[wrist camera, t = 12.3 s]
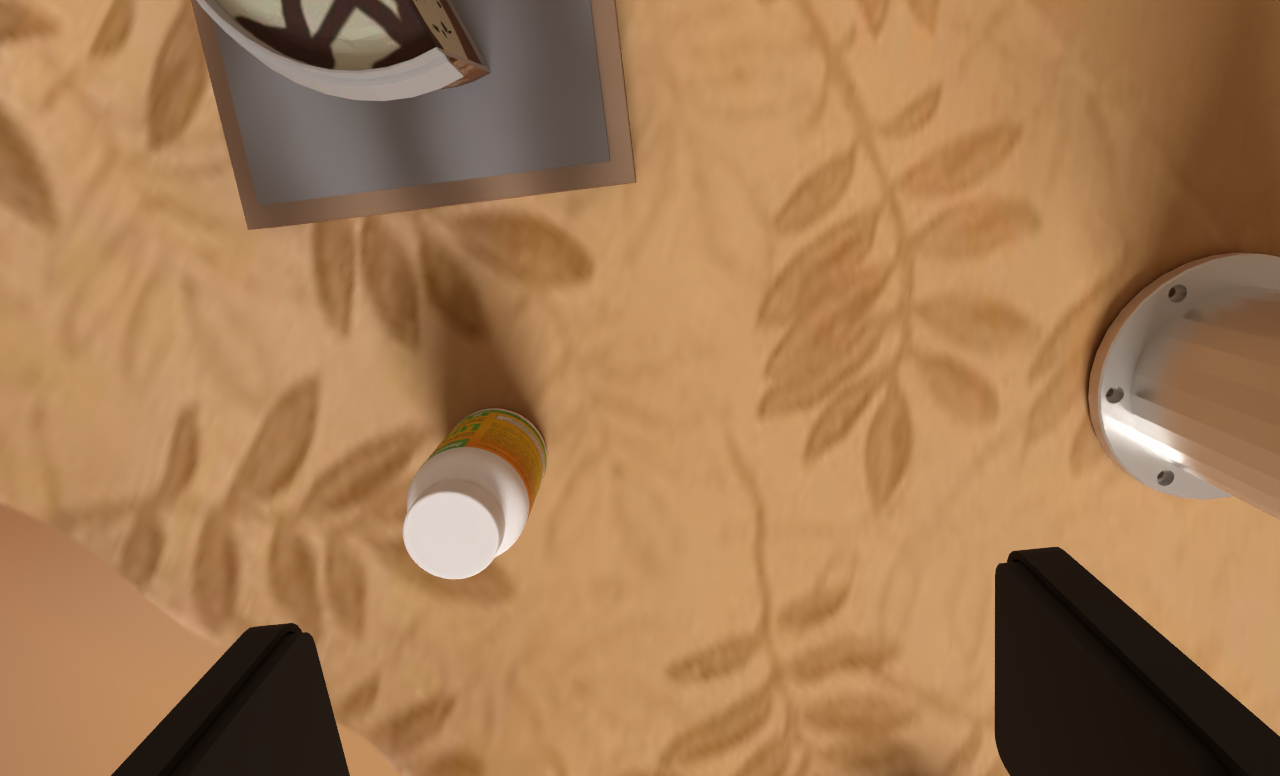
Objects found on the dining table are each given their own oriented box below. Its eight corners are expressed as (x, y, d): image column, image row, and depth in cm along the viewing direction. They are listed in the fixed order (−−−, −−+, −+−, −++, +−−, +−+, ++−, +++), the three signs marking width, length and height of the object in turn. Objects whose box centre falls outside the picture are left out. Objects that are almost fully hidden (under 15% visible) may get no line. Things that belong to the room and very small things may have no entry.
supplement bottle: (489, 385, 38) (436, 447, 29) (569, 449, 39) (543, 530, 30) (427, 459, 39) (357, 542, 30) (506, 519, 40) (462, 619, 31)
